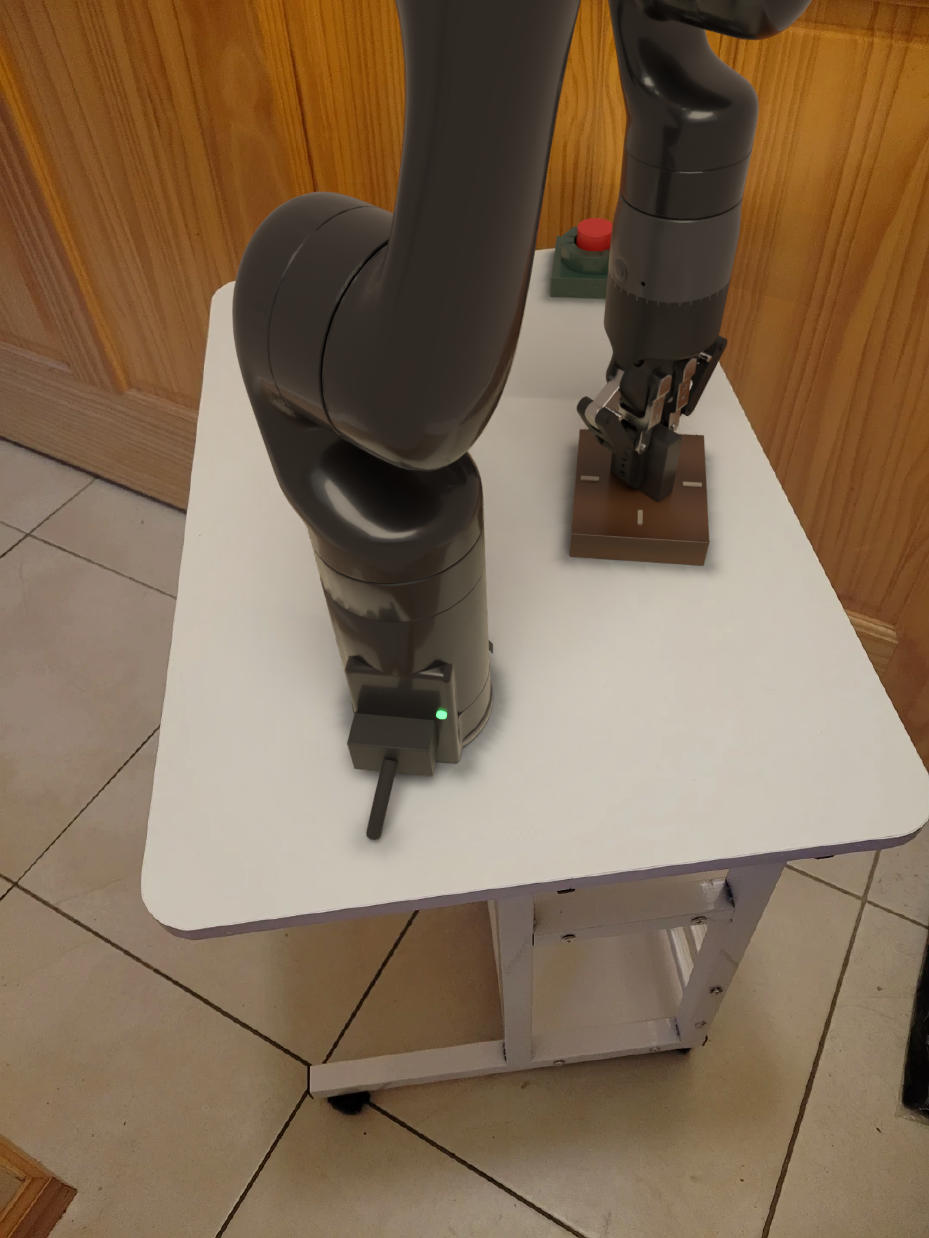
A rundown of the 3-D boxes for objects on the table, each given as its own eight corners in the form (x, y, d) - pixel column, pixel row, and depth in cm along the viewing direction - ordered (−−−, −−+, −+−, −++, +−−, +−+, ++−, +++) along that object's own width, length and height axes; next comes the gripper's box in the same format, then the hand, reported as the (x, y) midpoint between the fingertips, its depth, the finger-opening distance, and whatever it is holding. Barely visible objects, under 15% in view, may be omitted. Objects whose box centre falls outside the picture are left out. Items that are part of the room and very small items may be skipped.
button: (612, 254, 88) (613, 237, 86) (575, 253, 88) (576, 236, 87) (613, 235, 90) (614, 218, 89) (577, 234, 90) (578, 217, 89)
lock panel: (703, 565, 67) (709, 541, 65) (569, 557, 68) (571, 532, 66) (699, 458, 74) (704, 433, 72) (577, 452, 75) (579, 427, 73)
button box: (630, 300, 89) (635, 263, 86) (550, 297, 90) (551, 260, 87) (632, 257, 94) (636, 220, 91) (555, 255, 95) (557, 219, 92)
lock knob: (672, 492, 68) (683, 433, 64) (658, 503, 67) (668, 444, 63) (623, 461, 71) (630, 402, 66) (609, 471, 70) (616, 411, 65)
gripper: (641, 335, 51) (615, 545, 64) (789, 243, 56) (735, 455, 69) (547, 284, 54) (541, 493, 68) (694, 203, 60) (661, 412, 73)
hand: (639, 473), depth 69 cm, fingers closed on lock knob
